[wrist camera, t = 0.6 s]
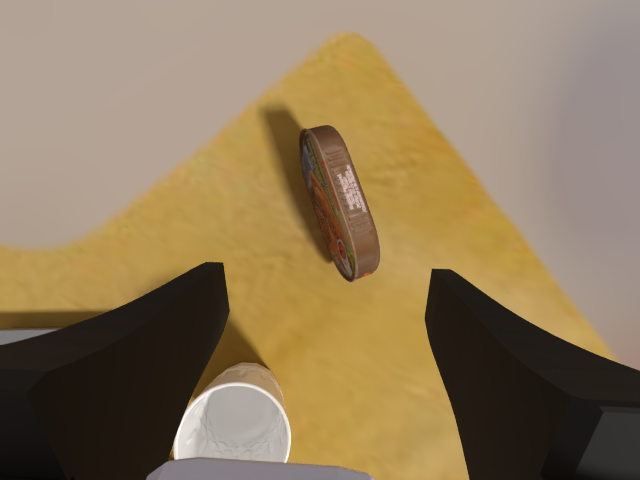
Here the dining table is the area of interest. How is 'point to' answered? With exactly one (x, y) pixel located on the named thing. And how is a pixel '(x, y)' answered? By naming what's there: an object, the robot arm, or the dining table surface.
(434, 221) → the dining table surface
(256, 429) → the white cup
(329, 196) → the tin
